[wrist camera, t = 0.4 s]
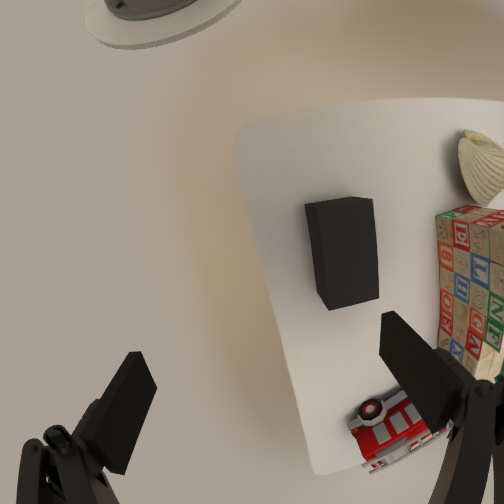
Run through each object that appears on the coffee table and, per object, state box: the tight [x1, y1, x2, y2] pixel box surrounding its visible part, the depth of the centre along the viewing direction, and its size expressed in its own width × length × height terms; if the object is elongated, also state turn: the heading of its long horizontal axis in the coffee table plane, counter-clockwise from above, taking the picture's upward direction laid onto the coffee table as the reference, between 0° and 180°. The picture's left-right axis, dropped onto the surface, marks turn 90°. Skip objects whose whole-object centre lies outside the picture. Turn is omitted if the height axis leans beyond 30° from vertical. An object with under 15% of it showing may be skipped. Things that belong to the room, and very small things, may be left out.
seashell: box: [458, 130, 504, 207], centre depth 22 cm, size 8×8×8 cm
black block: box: [305, 197, 379, 311], centre depth 24 cm, size 9×5×4 cm, turn 11°
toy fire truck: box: [347, 390, 453, 474], centre depth 27 cm, size 9×19×10 cm, turn 124°
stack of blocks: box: [436, 205, 504, 381], centre depth 22 cm, size 21×6×12 cm, turn 16°
